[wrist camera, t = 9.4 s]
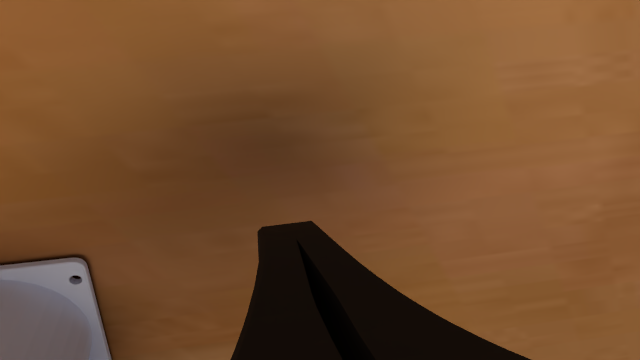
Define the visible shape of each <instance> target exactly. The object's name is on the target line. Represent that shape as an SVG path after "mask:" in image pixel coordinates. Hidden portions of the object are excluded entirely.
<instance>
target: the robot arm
mask: <svg viewBox="0 0 640 360" xmlns="http://www.w3.org/2000/svg"><path fill="white" fill-rule="evenodd" d="M258 253H259V264H258V270H257V276H256V281H255V286H254V290H253V294H252V298H251V302H250V305H249V309H248V313H247V316H246V319H245V322H244V325H243V328H242V331H241V334H240V337H239V340H238V342H237V345H236V348H235V350H234V353H233V355H232V358H231V360H531V359H528V358H526V357H524V356H521V355H519V354H516V353H514V352H511V351H509V350H507V349H504V348H502V347H500V346H498V345H496V344H493V343H491V342H489V341H487V340H485V339H482V338H480V337H478V336H476V335H474V334H472V333H470V332H468V331H467V330H465V329H463V328H461V327H459V326H457V325H455V324H453V323H451V322H449V321H447V320H445V319H443V318H442V317H440V316H438V315H436V314H434V313H433V312H431V311H429V310H428V309H426V308H424V307H423V306H421V305H419V304H418V303H416V302H414V301H413V300H411V299H409V298H408V297H406V296H405V295H403V294H402V293H400V292H399V291H397V290H396V289H394V288H393V287H392V286H390V285H389V284H387V283H386V282H384V281H383V280H382V279H380V278H379V277H377V276H376V275H375V274H373V273H372V272H371V271H369V270H368V269H367V268H366V267H364V266H363V265H362V264H361V263H359V262H358V261H357V260H356V259H355V258H353V257H352V256H351V255H350V254H349V253H347V252H346V251H345V250H344V249H343V248H342V247H340V246H339V245H338V244H337V243H336V242H335V241H334V240H332V239H331V238H330V237H329V236H328V235H327V234H326V233H325V232H323V231H322V230H321V229H320V228H319V227H318V226H317V225H316V224H314V223H313V222H312V221H307V222H299V223H290V224H282V225H274V226H266V227H262V228H261V229H260V230H259V231H258ZM74 275H77V276H80V277H81V279H75V278H73V277H72V276H74ZM0 360H111V356H110V352H109V348H108V344H107V340H106V336H105V332H104V328H103V324H102V320H101V316H100V313H99V309H98V305H97V301H96V297H95V293H94V289H93V285H92V281H91V277H90V273H89V270H88V266H87V263H86V262H85V261H84V260H83V259H80V258H64V259H55V260H46V261H37V262H28V263H19V264H10V265H1V266H0Z"/></svg>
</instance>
